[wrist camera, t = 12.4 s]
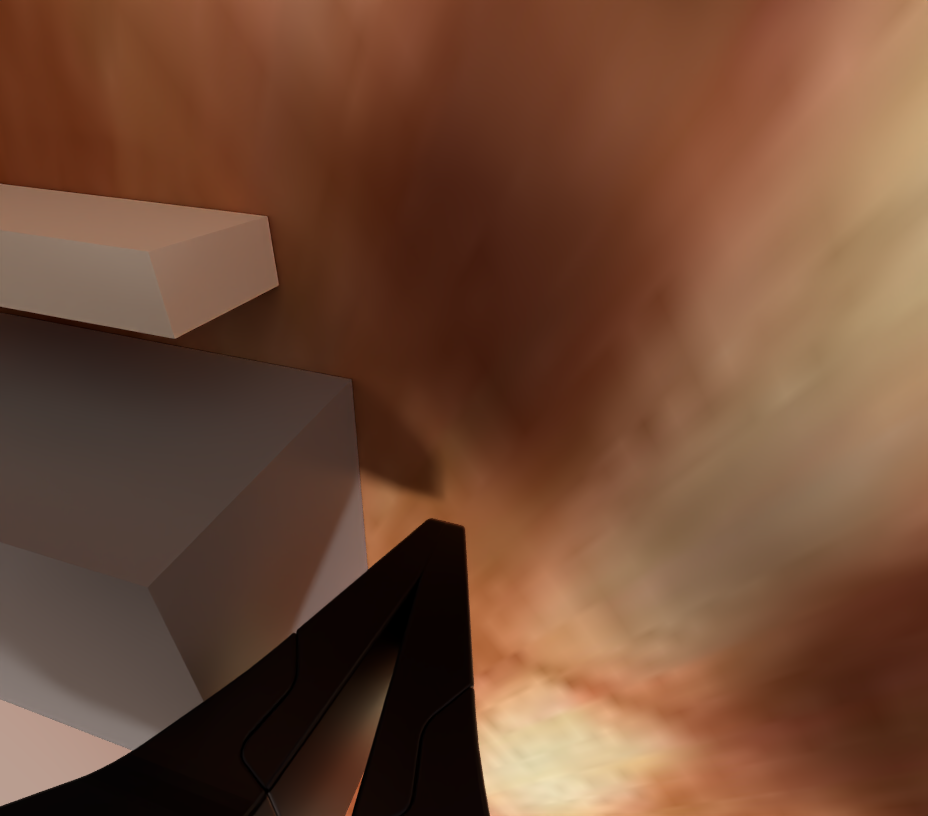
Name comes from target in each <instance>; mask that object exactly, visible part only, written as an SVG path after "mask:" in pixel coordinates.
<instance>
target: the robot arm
mask: <svg viewBox="0 0 928 816" xmlns="http://www.w3.org/2000/svg"><path fill="white" fill-rule="evenodd" d="M473 688H474V677H473V659H472V642H471V624H470V606H469V589H468V571H467V554H466V536H465V528H464V526H462V525H458V524H454V523H450V522H446V521H441V520H437V519H433V518H430V519H428V520H426V521H425V522H424V523H423V524H422V525H420V526H419V527H418V528H417V529H416V530H414V531H413V532H412V533H411V534H410V535H409V536H407V537H406V538H405V539H404V540H403V541H401V542H400V543H399V544H398V545H397V546H396V547H394V548H393V549H392V550H391V551H390V552H388V553H387V554H386V555H385V556H384V557H382V558H381V559H380V560H379V561H378V562H377V563H375V564H374V565H373V566H372V567H371V568H369V569H368V570H367V571H366V572H365V573H364V574H362V575H361V576H360V577H359V578H358V579H356V580H355V581H354V582H353V583H352V584H351V585H349V586H348V587H347V588H346V589H345V590H343V591H342V592H341V593H340V594H339V595H337V596H336V597H335V598H334V599H333V600H332V601H330V602H329V603H328V604H327V605H326V606H324V607H323V608H322V609H321V610H320V611H318V612H317V613H316V614H315V615H314V616H313V617H311V618H310V619H309V620H308V621H307V622H305V623H304V624H303V625H302V626H301V627H300V628H298V629H297V632H296V633H292V634H291V635H290V636H289V637H287V638H286V639H285V640H284V641H283V642H282V643H280V644H279V645H278V646H277V647H276V648H274V649H273V650H272V651H271V652H269V653H268V654H267V655H266V656H264V657H263V658H262V659H261V660H259V661H258V662H257V663H256V664H254V665H253V666H252V667H251V668H249V669H248V670H247V671H245V672H244V673H243V674H241V675H240V676H238V677H237V678H236V679H234V680H233V681H232V682H230V683H229V684H227V685H226V686H225V687H223V688H222V689H221V690H219V691H218V692H216V693H215V694H214V695H212V696H211V697H209V698H208V699H206V700H205V701H203V702H202V703H201V704H199V705H198V706H196V707H195V708H193V709H192V710H191V711H189V712H188V713H186V714H185V715H183V716H182V717H181V718H179V719H178V720H176V721H175V722H173V723H172V724H171V725H169V726H168V727H166V728H165V729H163V730H162V731H161V732H159V733H158V734H156V735H155V736H153V737H152V738H151V739H149V740H148V741H146V742H145V743H143V744H142V745H140V746H139V747H137V748H136V749H134V750H133V751H131V752H130V753H128V754H127V755H125V756H123V757H121V758H120V759H118V760H116V761H115V762H113V763H111V764H109V765H107V766H105V767H103V768H101V769H99V770H97V771H95V772H93V773H91V774H88V775H86V776H83V777H81V778H78V779H75V780H73V781H70V782H67V783H64V784H61V785H59V786H56V787H53V788H50V789H48V790H45V791H42V792H39V793H36V794H33V795H31V796H28V797H25V798H22V799H20V800H17V801H14V802H11V803H9V804H6V805H3V806H0V816H345V814H346V812H347V810H348V807H349V805H350V803H351V800H352V798H353V796H354V794H355V791H356V789H357V787H358V784H359V782H360V780H361V777H362V775H363V778H362V781H361V785H360V788H359V792H358V795H357V799H356V802H355V806H354V809H353V813H352V816H490V813H489V807H488V802H487V796H486V790H485V785H484V778H483V771H482V765H481V758H480V751H479V743H478V732H477V721H476V708H475V691H474V689H473ZM364 770H365V771H364ZM363 773H364V774H363Z"/></svg>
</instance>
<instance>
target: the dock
mask: <svg viewBox="0 0 928 816" xmlns="http://www.w3.org/2000/svg"><path fill="white" fill-rule="evenodd" d="M277 286H279V283H278V277H277V271H276V265H275V259H274V253H273V247H272V241H271V234H270V228H269V222H268V216H262V215H254V214H246V213H237V212H229V211H221V210H213V209H204V208H196V207H188V206H179V205H171V204H163V203H155V202H146V201H138V200H130V199H122V198H113V197H105V196H97V195H89V194H80V193H72V192H64V191H56V190H47V189H39V188H31V187H22V186H14V185H6V184H0V307H5V308H11V309H16V310H21V311H27V312H32V313H38V314H43V315H48V316H54V317H59V318H65V319H70V320H75V321H81V322H86V323H92V324H97V325H102V326H108V327H113V328H119V329H124V330H129V331H135V332H140V333H146V334H151V335H156V336H162V337H167V338H173V339H176V338H178V337H180V336H182V335H184V334H185V333H187V332H189V331H191V330H193V329H195V328H197V327H199V326H201V325H203V324H205V323H207V322H209V321H211V320H213V319H215V318H217V317H218V316H220V315H222V314H224V313H226V312H228V311H230V310H232V309H234V308H236V307H238V306H240V305H242V304H244V303H246V302H248V301H250V300H252V299H253V298H255V297H257V296H259V295H261V294H263V293H265V292H267V291H269V290H271V289H273V288H275V287H277Z"/></svg>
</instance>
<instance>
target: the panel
mask: <svg viewBox="0 0 928 816" xmlns="http://www.w3.org/2000/svg"><path fill="white" fill-rule="evenodd" d="M367 570H368V566H367V554H366V542H365V530H364V519H363V507H362V495H361V483H360V471H359V460H358V448H357V436H356V424H355V413H354V401H353V389H352V379H347V378H342V377H337V376H332V375H326V374H321V373H316V372H311V371H305V370H300V369H295V368H290V367H284V366H279V365H274V364H268V363H263V362H258V361H253V360H247V359H242V358H237V357H232V356H226V355H221V354H216V353H211V352H205V351H200V350H195V349H190V348H184V347H179V346H174V345H169V344H163V343H158V342H153V341H148V340H142V339H137V338H132V337H127V336H121V335H116V334H111V333H106V332H100V331H95V330H90V329H85V328H79V327H74V326H69V325H64V324H58V323H53V322H48V321H43V320H37V319H32V318H27V317H21V316H16V315H11V314H6V313H0V699H1V700H4V701H6V702H9V703H12V704H14V705H17V706H19V707H22V708H24V709H27V710H30V711H32V712H35V713H37V714H40V715H42V716H45V717H48V718H50V719H53V720H55V721H58V722H60V723H63V724H66V725H68V726H71V727H74V728H76V729H79V730H81V731H84V732H86V733H89V734H91V735H94V736H97V737H99V738H102V739H104V740H107V741H109V742H112V743H115V744H117V745H120V746H122V747H125V748H127V749H130V750H132V751H133V750H134V749H136V748H137V747H139V746H140V745H142V744H143V743H145V742H146V741H148V740H149V739H151V738H152V737H153V736H155V735H156V734H158V733H159V732H161V731H162V730H163V729H165V728H166V727H168V726H169V725H171V724H172V723H173V722H175V721H176V720H178V719H179V718H181V717H182V716H183V715H185V714H186V713H188V712H189V711H191V710H192V709H193V708H195V707H196V706H198V705H199V704H201V703H202V702H203V701H205V700H206V699H208V698H209V697H211V696H212V695H214V694H215V693H216V692H218V691H219V690H221V689H222V688H223V687H225V686H226V685H227V684H229V683H230V682H232V681H233V680H234V679H236V678H237V677H238V676H240V675H241V674H243V673H244V672H245V671H247V670H248V669H249V668H251V667H252V666H253V665H254V664H256V663H257V662H258V661H259V660H261V659H262V658H263V657H264V656H266V655H267V654H268V653H269V652H271V651H272V650H273V649H274V648H276V647H277V646H278V645H279V644H280V643H282V642H283V641H284V640H285V639H286V638H287V637H289V636H290V635H291V634H292V633H296V632H297V629H298V628H300V627H301V626H302V625H303V624H304V623H305V622H307V621H308V620H309V619H310V618H311V617H313V616H314V615H315V614H316V613H317V612H318V611H320V610H321V609H322V608H323V607H324V606H326V605H327V604H328V603H329V602H330V601H332V600H333V599H334V598H335V597H336V596H337V595H339V594H340V593H341V592H342V591H343V590H345V589H346V588H347V587H348V586H349V585H351V584H352V583H353V582H354V581H355V580H356V579H358V578H359V577H360V576H361V575H362V574H364V573H365V572H366V571H367Z"/></svg>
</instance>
